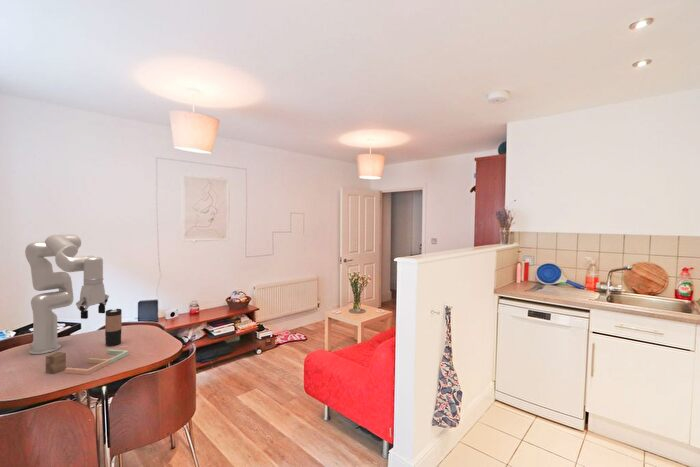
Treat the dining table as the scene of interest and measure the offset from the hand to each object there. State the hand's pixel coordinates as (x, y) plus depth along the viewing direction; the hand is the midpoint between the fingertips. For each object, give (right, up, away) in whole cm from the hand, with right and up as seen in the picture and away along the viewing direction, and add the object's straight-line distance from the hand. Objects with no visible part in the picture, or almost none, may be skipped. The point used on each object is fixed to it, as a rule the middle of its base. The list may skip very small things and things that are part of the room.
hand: (93, 315), depth 157 cm
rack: (+1, -25, +2) cm, 25 cm away
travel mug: (-10, -24, +27) cm, 37 cm away
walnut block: (-12, -25, -7) cm, 28 cm away
